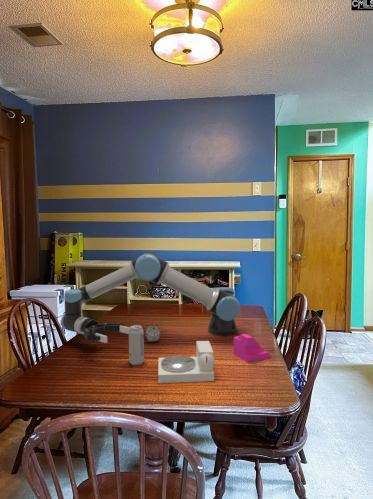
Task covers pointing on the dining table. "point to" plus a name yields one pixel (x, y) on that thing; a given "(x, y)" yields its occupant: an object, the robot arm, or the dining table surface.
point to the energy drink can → (136, 345)
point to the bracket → (249, 349)
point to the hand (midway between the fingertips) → (119, 335)
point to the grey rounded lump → (152, 333)
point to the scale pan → (178, 363)
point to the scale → (198, 373)
